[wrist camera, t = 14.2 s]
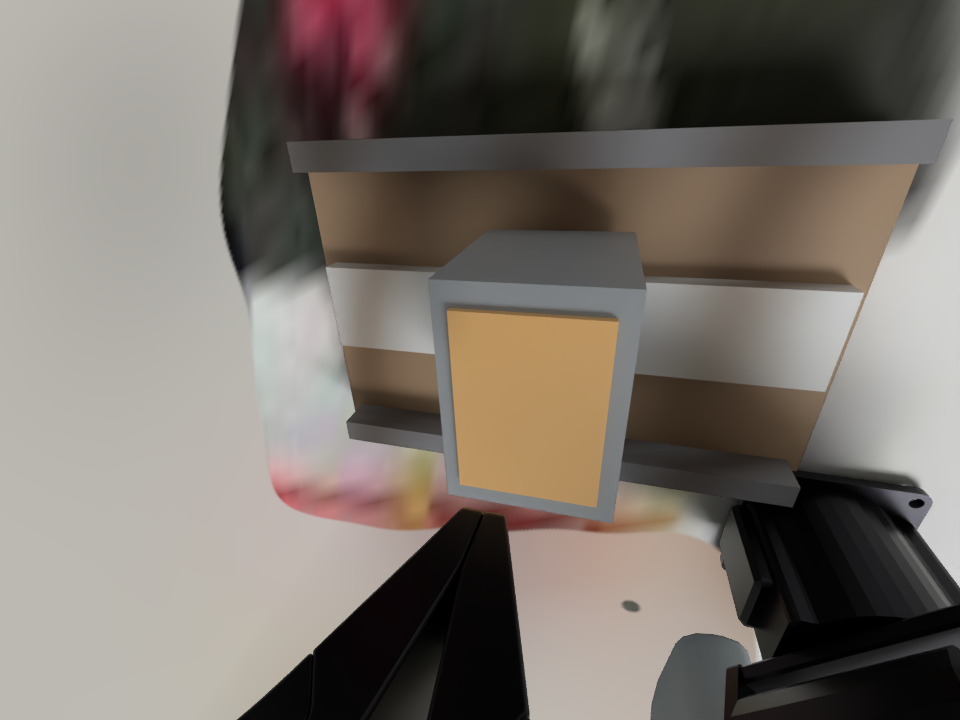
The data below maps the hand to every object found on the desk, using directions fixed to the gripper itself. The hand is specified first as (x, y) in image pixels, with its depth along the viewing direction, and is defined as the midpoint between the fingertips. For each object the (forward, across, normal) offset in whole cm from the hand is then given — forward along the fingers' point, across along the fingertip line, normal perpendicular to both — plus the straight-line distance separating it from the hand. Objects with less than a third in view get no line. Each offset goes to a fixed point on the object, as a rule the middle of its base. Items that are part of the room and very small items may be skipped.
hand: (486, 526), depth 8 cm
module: (+10, 0, 0) cm, 10 cm away
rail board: (+12, 0, 0) cm, 12 cm away
